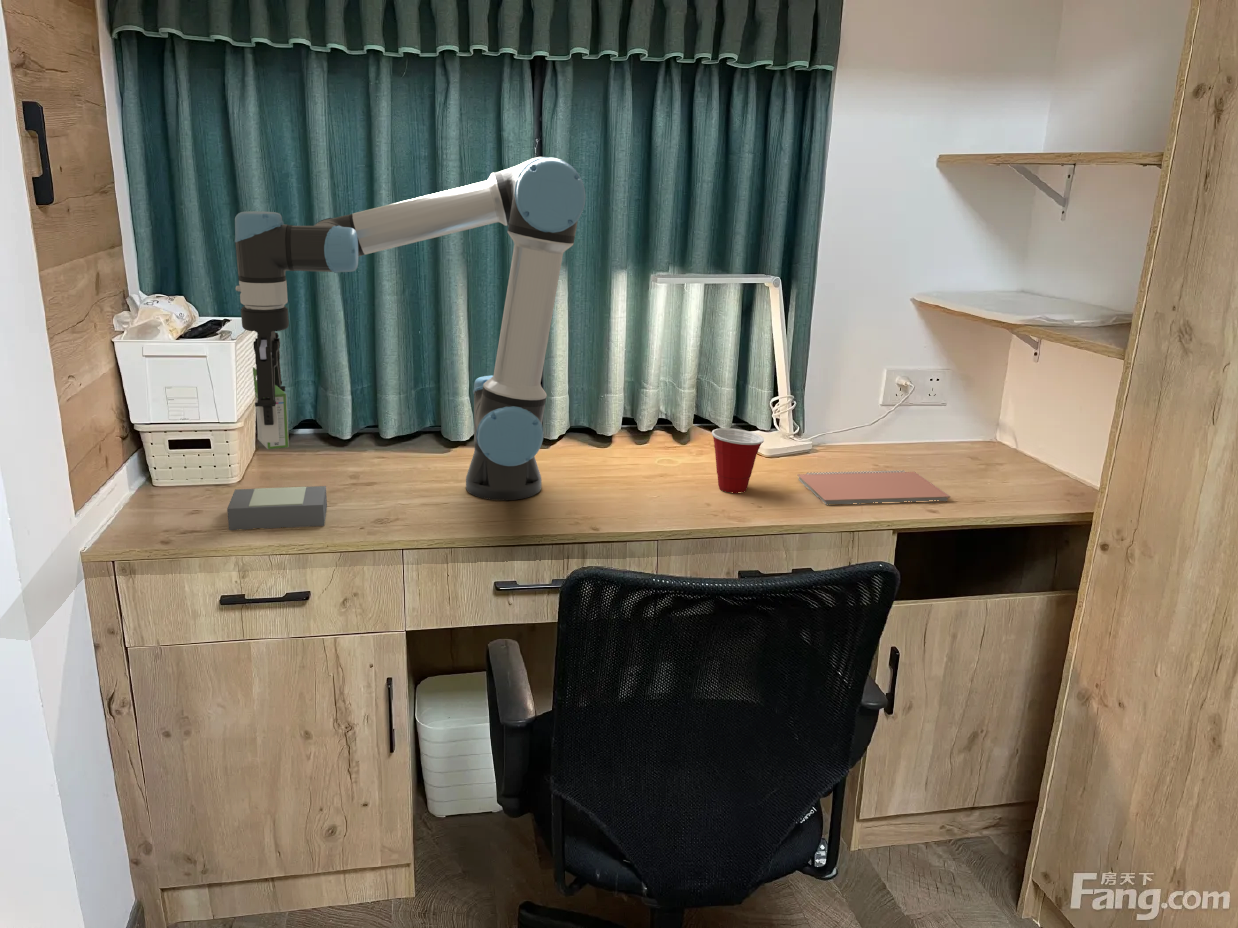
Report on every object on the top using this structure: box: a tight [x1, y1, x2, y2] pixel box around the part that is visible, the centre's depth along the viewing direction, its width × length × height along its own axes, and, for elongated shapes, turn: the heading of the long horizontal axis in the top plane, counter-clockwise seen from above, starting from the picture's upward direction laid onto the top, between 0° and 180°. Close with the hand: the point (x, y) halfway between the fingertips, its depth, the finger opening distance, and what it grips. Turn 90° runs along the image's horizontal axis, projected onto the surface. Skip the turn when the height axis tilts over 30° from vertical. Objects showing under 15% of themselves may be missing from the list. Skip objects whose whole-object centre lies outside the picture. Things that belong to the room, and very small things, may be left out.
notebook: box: [797, 469, 951, 506], centre depth 204 cm, size 27×17×2 cm, turn 101°
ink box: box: [252, 367, 290, 450], centre depth 170 cm, size 7×4×13 cm, turn 33°
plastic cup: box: [711, 427, 765, 494], centre depth 200 cm, size 11×11×12 cm
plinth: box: [226, 485, 328, 531], centre depth 176 cm, size 16×10×4 cm, turn 103°
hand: (273, 434), depth 172 cm, fingers closed on ink box, 8 cm apart
